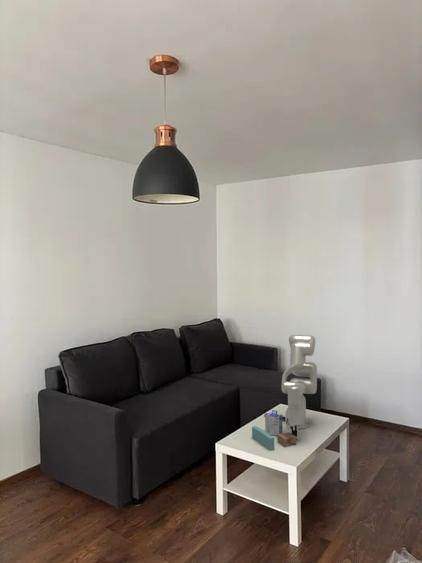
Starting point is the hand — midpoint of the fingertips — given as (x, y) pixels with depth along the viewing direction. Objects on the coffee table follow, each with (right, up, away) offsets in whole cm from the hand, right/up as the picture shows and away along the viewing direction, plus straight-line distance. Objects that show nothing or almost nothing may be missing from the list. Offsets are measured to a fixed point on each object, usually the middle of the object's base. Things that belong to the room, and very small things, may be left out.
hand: (294, 436), depth 255 cm
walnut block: (-5, -4, -2) cm, 7 cm away
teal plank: (-19, -4, -2) cm, 20 cm away
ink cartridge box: (-11, -3, +12) cm, 16 cm away
